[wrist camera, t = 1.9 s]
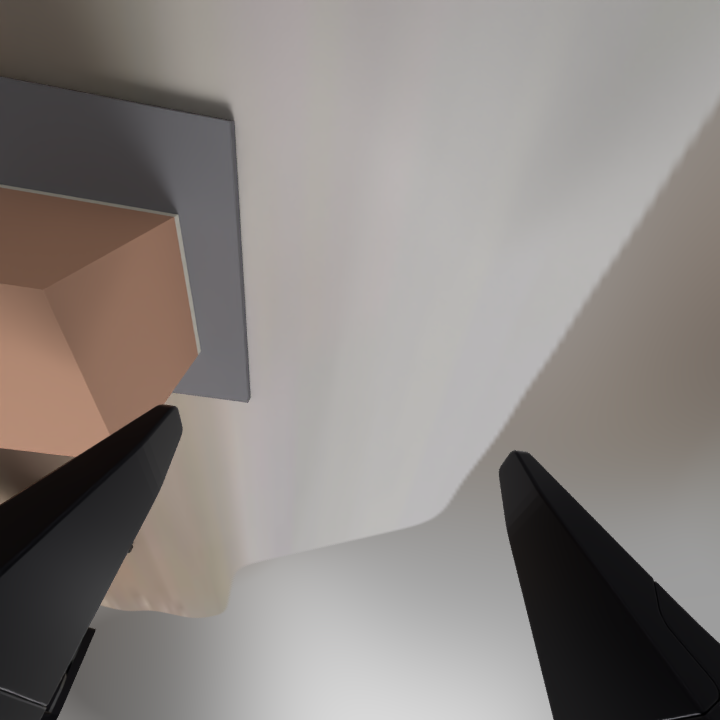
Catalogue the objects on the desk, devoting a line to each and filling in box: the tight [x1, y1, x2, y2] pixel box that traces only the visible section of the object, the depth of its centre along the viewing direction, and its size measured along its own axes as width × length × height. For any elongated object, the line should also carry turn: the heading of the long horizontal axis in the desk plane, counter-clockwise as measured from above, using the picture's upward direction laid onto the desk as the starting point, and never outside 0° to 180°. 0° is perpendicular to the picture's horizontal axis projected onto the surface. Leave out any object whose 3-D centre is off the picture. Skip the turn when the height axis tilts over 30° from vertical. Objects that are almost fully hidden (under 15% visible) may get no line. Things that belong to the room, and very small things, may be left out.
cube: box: [0, 184, 201, 457], centre depth 11 cm, size 6×6×6 cm
